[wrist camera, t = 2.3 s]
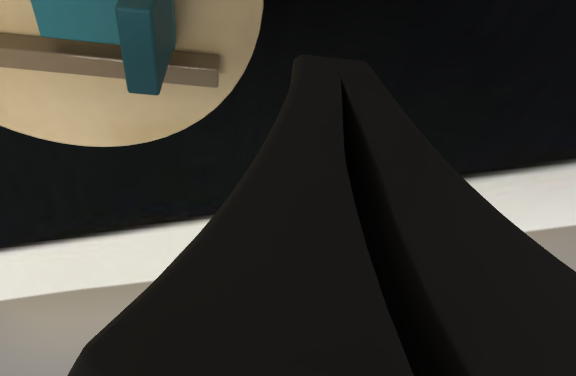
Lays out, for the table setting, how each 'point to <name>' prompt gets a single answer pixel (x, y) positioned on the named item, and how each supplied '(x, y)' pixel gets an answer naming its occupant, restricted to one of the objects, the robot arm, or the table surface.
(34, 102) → the brown and beige cylinder
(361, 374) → the robot arm
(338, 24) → the table surface
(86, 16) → the slider
